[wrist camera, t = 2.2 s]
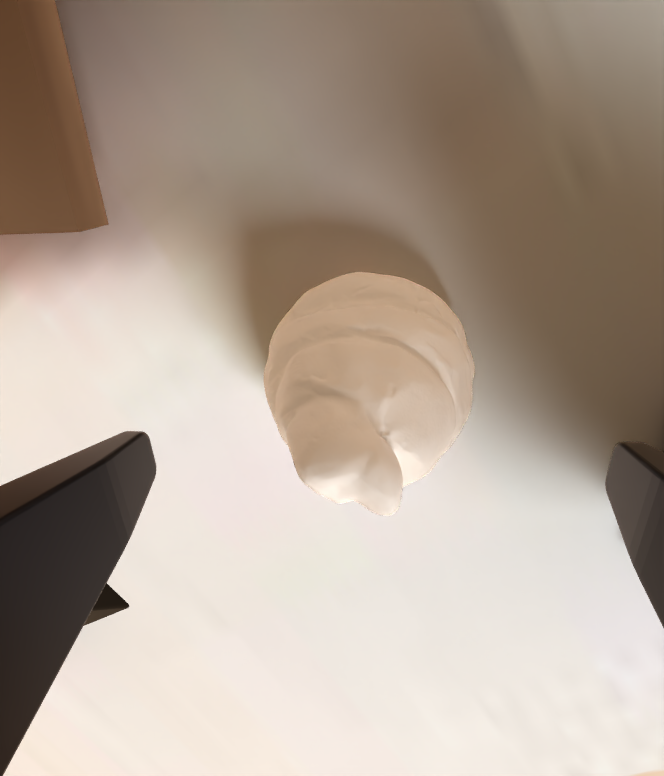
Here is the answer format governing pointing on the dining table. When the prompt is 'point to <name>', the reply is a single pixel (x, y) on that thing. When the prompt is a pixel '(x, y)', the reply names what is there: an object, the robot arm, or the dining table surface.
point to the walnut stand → (42, 128)
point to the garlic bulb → (368, 386)
